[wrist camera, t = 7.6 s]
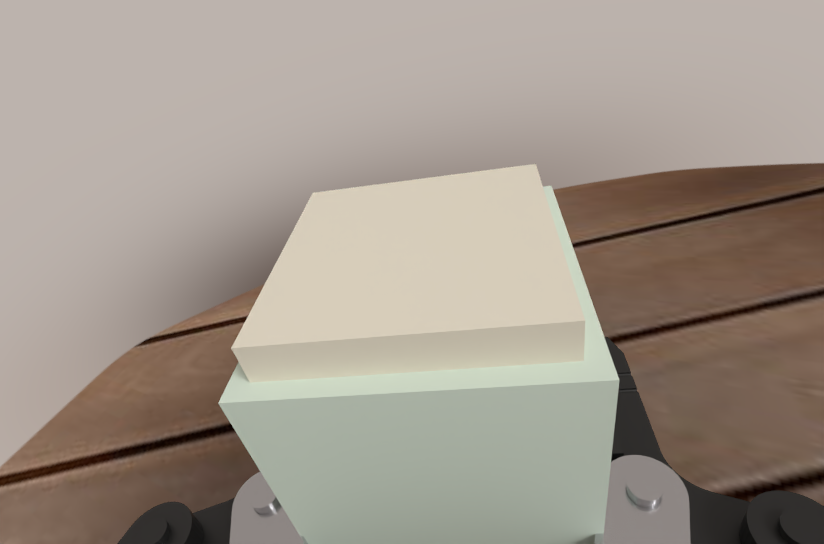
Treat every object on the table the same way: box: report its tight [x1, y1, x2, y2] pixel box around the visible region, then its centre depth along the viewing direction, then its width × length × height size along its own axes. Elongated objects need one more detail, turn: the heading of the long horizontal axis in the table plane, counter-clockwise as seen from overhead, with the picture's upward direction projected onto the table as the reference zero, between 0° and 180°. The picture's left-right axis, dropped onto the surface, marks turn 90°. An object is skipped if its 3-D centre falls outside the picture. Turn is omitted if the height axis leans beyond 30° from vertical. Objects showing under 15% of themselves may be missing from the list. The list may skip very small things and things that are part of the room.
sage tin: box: [218, 164, 619, 544], centre depth 10 cm, size 5×5×12 cm
